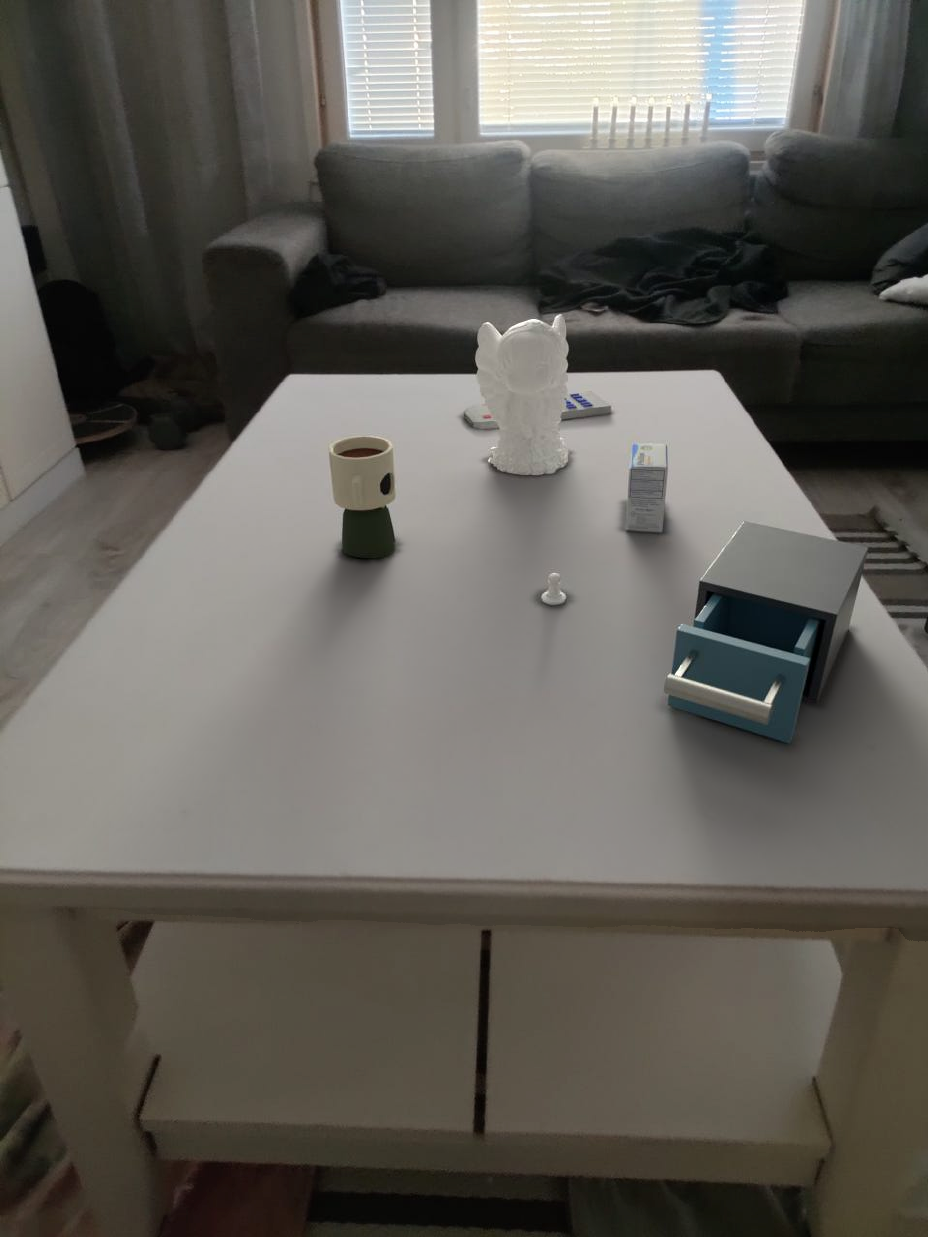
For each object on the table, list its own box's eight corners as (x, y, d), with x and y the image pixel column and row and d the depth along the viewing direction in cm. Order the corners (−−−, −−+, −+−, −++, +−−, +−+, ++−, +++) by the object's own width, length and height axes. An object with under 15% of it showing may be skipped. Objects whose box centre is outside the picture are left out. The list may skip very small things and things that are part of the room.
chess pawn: (549, 611, 92) (550, 582, 90) (536, 600, 94) (537, 571, 92) (570, 605, 93) (571, 576, 91) (557, 594, 95) (558, 566, 93)
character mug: (394, 574, 99) (387, 465, 92) (331, 574, 100) (319, 466, 93) (404, 530, 109) (397, 429, 102) (346, 530, 109) (336, 429, 102)
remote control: (610, 417, 142) (611, 404, 140) (475, 433, 136) (475, 419, 135) (590, 402, 148) (591, 389, 147) (461, 417, 143) (461, 403, 142)
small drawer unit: (815, 707, 77) (837, 614, 72) (687, 670, 83) (699, 580, 78) (847, 633, 87) (868, 547, 82) (730, 604, 92) (744, 520, 87)
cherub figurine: (479, 480, 121) (476, 331, 111) (476, 446, 132) (474, 307, 121) (574, 477, 121) (581, 328, 111) (564, 444, 132) (570, 305, 121)
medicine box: (662, 536, 106) (669, 468, 101) (624, 534, 106) (629, 466, 102) (661, 508, 112) (668, 443, 108) (625, 506, 113) (631, 441, 108)
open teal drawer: (770, 787, 68) (788, 706, 64) (642, 743, 73) (650, 665, 68) (823, 666, 81) (841, 593, 77) (712, 636, 86) (723, 565, 82)
